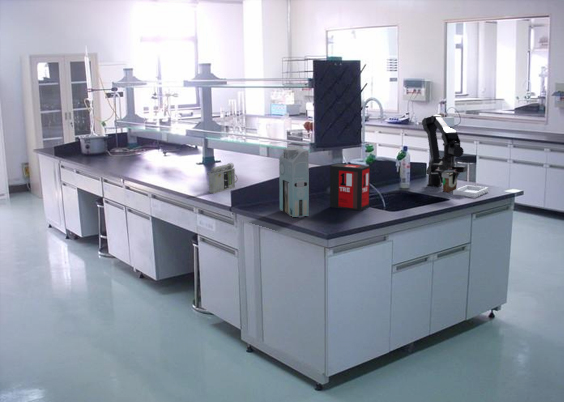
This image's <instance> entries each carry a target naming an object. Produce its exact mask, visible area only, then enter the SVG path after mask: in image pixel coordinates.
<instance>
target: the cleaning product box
mask: <svg viewBox="0 0 564 402" xmlns="http://www.w3.org/2000/svg"><path fill="white" fill-rule="evenodd" d="M329 168H330V169H329V170H330V172H329V208H336V209H344V210H353V211H360V212H362V211H364V210H367V209H368V208H370V192H371V191H370V187H371V184H370V183H371V182H370V181H371V180H370V179H371V166H370V165H364V164H363V165H361V164H353V163H352V164H351V163H349V164H348V163H341V162H340V163H339V162H338V163H336V164H335V163H334V164H332V165H330V167H329Z"/></svg>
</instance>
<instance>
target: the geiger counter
mask: <svg viewBox="0 0 564 402" xmlns="http://www.w3.org/2000/svg"><path fill="white" fill-rule="evenodd" d="M234 167H235V165H234V163H233V162H229V163H227V164H223V165H218V166H214V167H211V169H210V171H208V172H206V175H207V176H208V184H209V185H208V186H209V194H216V193H220V192H224V191H226V190H230V189H234V188H236V183H237V182H238V180H239V179H238V176H237V174H236V171H235V170H236V169H235V168H234Z"/></svg>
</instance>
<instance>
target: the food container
mask: <svg viewBox="0 0 564 402" xmlns="http://www.w3.org/2000/svg"><path fill="white" fill-rule="evenodd" d="M453 172H455V171H454V170H446V171H444V172H443V173H442V177H443V183H442V192H444V193H448V194H450V193H453V190H455V189H458V187H457V185H458V178H457V179H456V181H455V183H454V184H453Z"/></svg>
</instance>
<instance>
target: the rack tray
mask: <svg viewBox="0 0 564 402" xmlns="http://www.w3.org/2000/svg"><path fill="white" fill-rule="evenodd" d="M487 193H489V187H487V186H480V185H479V186H478V185H468V184H466V185H464V186H460V187H459V188H458V187H457V188H456V189H455V190H453V191H452V195H453V196H457V197H466V198H474V199H476V198H478V197H480V196H483V195H485V194H487Z"/></svg>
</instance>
